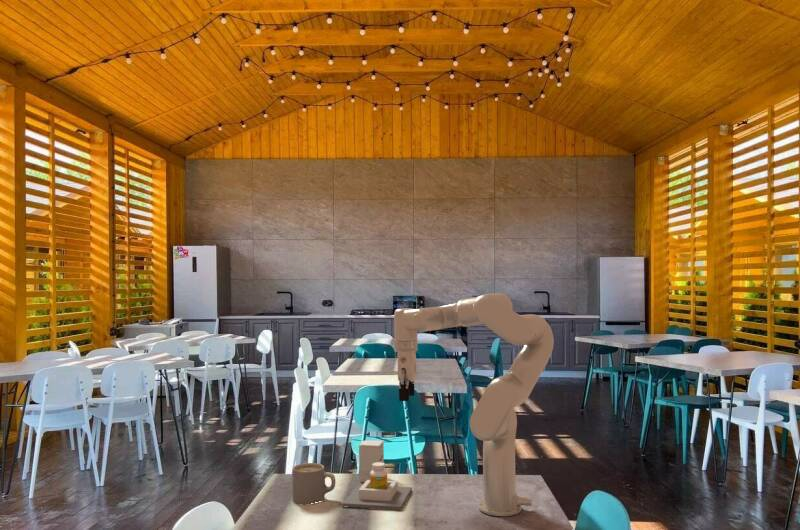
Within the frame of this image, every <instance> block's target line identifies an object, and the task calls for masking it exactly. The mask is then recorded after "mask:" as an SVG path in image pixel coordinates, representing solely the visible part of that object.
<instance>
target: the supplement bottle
mask: <svg viewBox="0 0 800 530" xmlns="http://www.w3.org/2000/svg"><path fill="white" fill-rule="evenodd" d="M385 468H386V464H385V462H384V463H381V462H376V463H373V464H372V469H373V470H372V471H371V472H370V489H386V490H387V481H388V471H387V470H385Z"/></svg>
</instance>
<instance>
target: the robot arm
mask: <svg viewBox="0 0 800 530" xmlns="http://www.w3.org/2000/svg"><path fill="white" fill-rule="evenodd" d="M513 307H514V306H513V302H512V300H511V298H510V297H509V296H507V295H506V294H504V293H501V292H493V293H492V292H491V293H484V294H481V295H479V296H474V297H468V298H462V299H459V300H458V301H457V302H455V303H452V304H447V305H441V306H433V307H419V308H407V307H405V308H403V307H402V308H397V309H395V310H394V315H393V319H394V320H393V322H394V326H393V327H394V328H393V329H394V333H393V334H394V351H395V352H397V380H398V382H399V383H398V401H399V402H410V397H414V396H415V380H416V379H417V378H418V369H417V367H418V365H417V355H416V352H417V351H418V350H419V348H418V332H421V333H422V332H431V331H439V330H443V329H449V328H455V327H463V328H465V327H471V326H478V325H484V326H485V327H487V328H488V329H489V330H491V331H492V332H493V333H494V334H496V335H498V336H499V337H500V338H501V339H503V340H504V341H505V342H507V343H510V344H511V345H513V346H516V347H517V346H518V347H520V346H522V348H521V350H520V351H519V352H518V353H517V355H516V357H515V358H514V360H513V363H512V364H511V366H510V367H509V368H508V370H507V372H506V373H505V374H503V375H499V376H498V377H495V378H494V379H493V380H492V381H490V383H489V384H488V385H487V387H486V388H485V390H484V391H483V393H482V395H481V396H480V399H479V400H478V402H477V404H476V406H475V407H474V409H473V411H472V414H471V416H470V419H469V427H470V431H471V434H472V435H473V436H474V437H475V439H477V440H479V441H483V444H482V465H483V466H482V474H483V475H482V477H483V479H482V481H483V500H481V501H479V503H478V510H479V511H480V512H482V513H483V514H486V515H488V516H495V517H510V516H515V515H518V514H519V513H520V512H521V511H522V506H525V507H531V506H532V499H531V498H528V497H527V496H520V495H518V491H517V490H516V485H517V484H516V435H517V426H518V419H517V413H516V411H515V408H517V407H519V406H521V405H523V404H524V403H526V402H527V400H528V399H529V397H530V396H531V395H530V394H531V393H532V391H533V389H534V387H535V386H536V384H537V382H538V380H539V379H540V377H541V376H542V375H541V374H542V373H543V370H544V369H545V367H546V366H547V364H548V362H549V360H550V358H551V356H552V353H553V350H554V344H555V341H554V340H555V339H554V334H553V330H552V328H551V326H550V324H549V323H548V322H547V320H546V319H545V318H544V317H542V316H540V315H537V314H532V313H531V314H530V313H528V314H522V315H520V314H519V313H517V312H516V311H514V310H513Z"/></svg>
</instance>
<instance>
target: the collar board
mask: <svg viewBox="0 0 800 530" xmlns="http://www.w3.org/2000/svg"><path fill="white" fill-rule="evenodd" d="M412 488H413V487H412V486H411V487H410V486H409V487H408V486H398V480H387V490H386V489H370V480H366V482H363V484H357V485H356V487H355V488H354V489H353V490H352V491H351V493H350V494H349V495H348V496H347V497H346V499H344V501H343V502H342V507H343V506H348V507H361V508H360V509H365V508H374V509H373V510H383V511H384V510H385V511H398V510H400V512H401V511H402V509H403V508H402V507H404V506H405V504H404V503H406V502H407V501H408V499H407V498H409V497H410V496H411V493H412V491H413V489H412ZM408 496H409V497H408ZM403 505H404V506H403ZM348 507H347V508H348Z"/></svg>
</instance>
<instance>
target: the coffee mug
mask: <svg viewBox="0 0 800 530" xmlns="http://www.w3.org/2000/svg"><path fill="white" fill-rule="evenodd" d="M327 478H329V479H330V481H331V484H330V485H329V486H327V484H326V479H327ZM335 487H336V476H335V474H333V473H332V472H329V471H328V472H326V471H325V466H324V465H323V464H321V463H318V462H317V463H315V462H306V463H300V464H296V465H294V466H293V467H292V502H293V503H294V504H295V505H300V504H302V505H301V506H307V505H306V504H311V503H315V502H319V501H322V500H323V499H324V498H325V496H326V494H327V493H330V492H332V491H333V490H334V489H335ZM324 500H325V499H324ZM324 500H323V501H324ZM323 501H322V502H323Z"/></svg>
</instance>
